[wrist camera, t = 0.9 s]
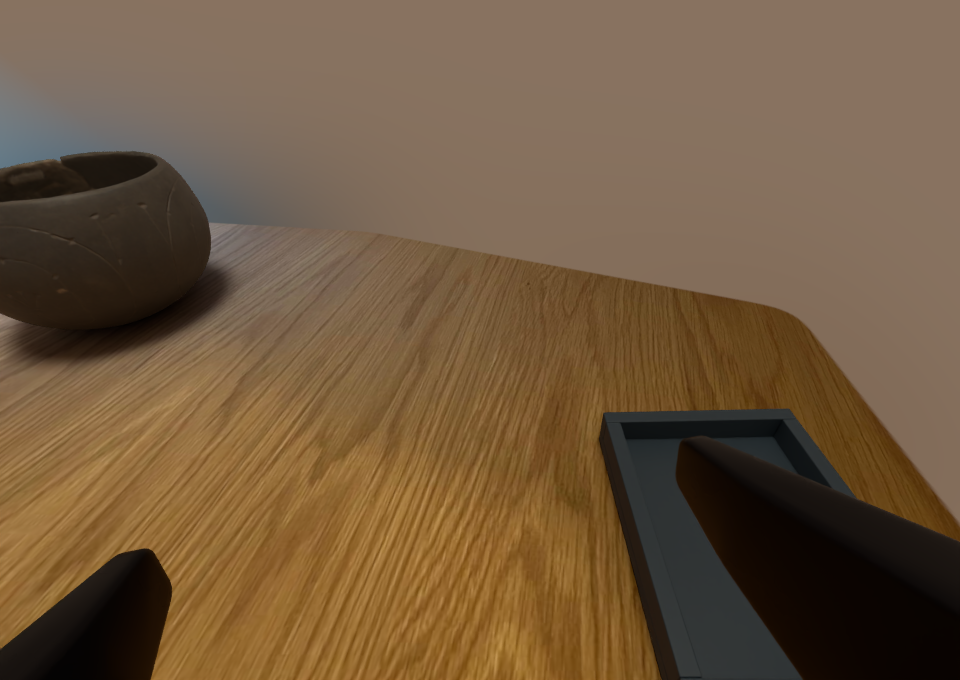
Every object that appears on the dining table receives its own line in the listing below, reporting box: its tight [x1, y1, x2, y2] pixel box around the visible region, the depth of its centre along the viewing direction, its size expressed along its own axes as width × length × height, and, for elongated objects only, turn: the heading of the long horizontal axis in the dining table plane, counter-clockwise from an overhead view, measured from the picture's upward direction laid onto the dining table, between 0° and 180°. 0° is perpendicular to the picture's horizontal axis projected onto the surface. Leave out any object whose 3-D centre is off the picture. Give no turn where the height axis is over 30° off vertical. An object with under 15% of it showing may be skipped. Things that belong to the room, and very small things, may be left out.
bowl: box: [0, 151, 211, 330], centre depth 39 cm, size 18×18×13 cm
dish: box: [599, 409, 857, 680], centre depth 21 cm, size 14×11×2 cm
